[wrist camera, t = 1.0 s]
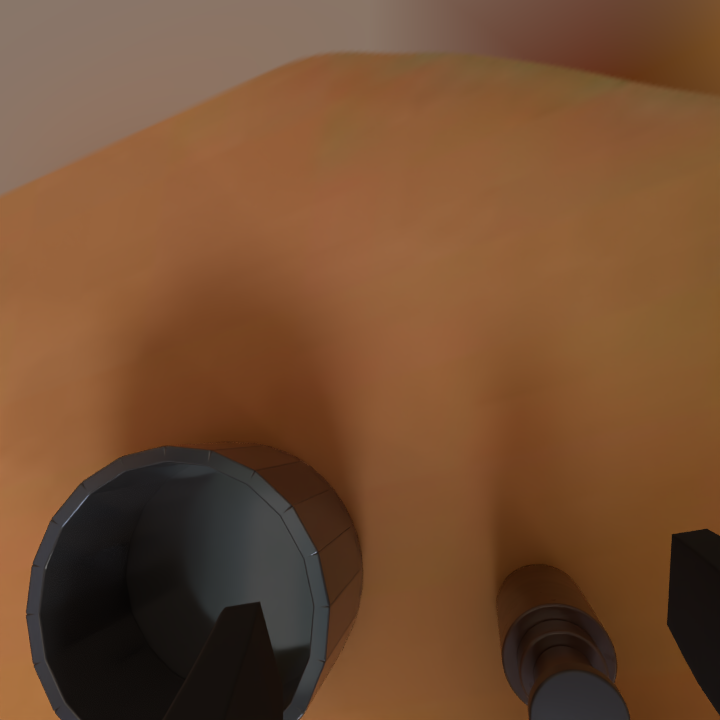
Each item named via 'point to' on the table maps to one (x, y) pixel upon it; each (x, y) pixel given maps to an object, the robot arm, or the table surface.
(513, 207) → the table surface
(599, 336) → the table surface
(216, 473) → the brown round cylinder
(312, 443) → the table surface
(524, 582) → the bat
